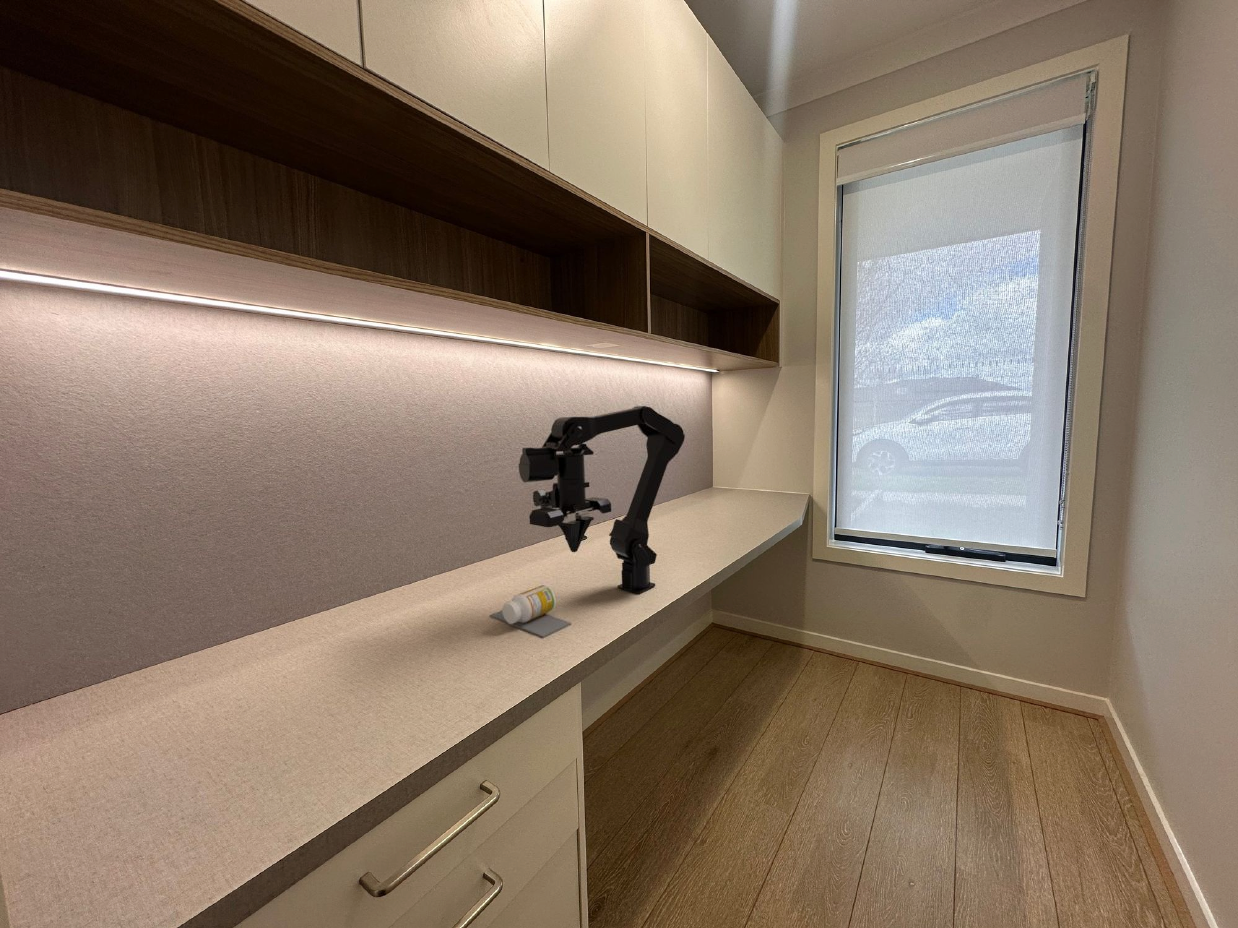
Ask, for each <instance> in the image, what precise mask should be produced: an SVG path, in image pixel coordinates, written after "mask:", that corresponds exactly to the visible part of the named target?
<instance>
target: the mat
mask: <svg viewBox="0 0 1238 928" xmlns="http://www.w3.org/2000/svg"><path fill="white" fill-rule="evenodd" d="M489 617H490V618H493V619H495V620H497V621H500V622H503V623H505V624H508V625H510V626H513V627H515V628H518V629H520V630H523V631H524V632H525V631H526V632H527V633H530V634H533V635H535V636H538V637H540V638H543V639H545V638H546V637H549V636H551V635H552V634H554V633H557V632H558V631H559V632H560V631H561V630H563V629H565V628H567V627H569V626H571V625H572V622H570V621H567V620H564V619H561V618H559V617H555V616H553V615H550V614H548V613H545V614H543V615H541V616H538V617H536V618H534V619H532V620H530V621H527V622H524V623H522V622H519V621H518V622H516V623H513V624H510V623H508V622H507V621H506V620H505V618H504V616H503V612H502V609H501V610H499V611H496V612H495V613H491V614H489Z"/></svg>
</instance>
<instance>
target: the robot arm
mask: <svg viewBox="0 0 1238 928" xmlns="http://www.w3.org/2000/svg"><path fill="white" fill-rule="evenodd" d="M634 426H637V428H638V429H639V431H640V433H641V434H642V435H643V436H645V437H646V438H647V440H646V443H645V445H646V453H647V457H646V461H645V464H644V467H643V469H642V472H641V475H640V477H639V481H638V484H637V485H636V489H635V492H634V493H633V494H634V495H633V497H632V500H631V502H630V506H629V508H628V511H627V513H626V515H624V517H623V518H622V519H619V518H616V519H615V520H614V522H613V527H612V529H611V531H610V532H609V534H608V536H609V537H610V538H609V539H610V540H609V545H610V548H611V550H612V551H613V553H615V555H616V558H617V559H619V560H622V563H621V583H620V584H618V585H617V587H616V588H617V589H621V590H624V591H627V592H630V593H635V594H641V593H644V592H646V591H648V590H650V589H652V588H653V587H655V586H656V583H654V582H651V578H650V577H651V576H650V574H651V572H650V570H651V569H650V568H651V567H650V566H651V565H653V564H655V563H656V560H657V555H658V554H657V553H656V552H655V551H654V550H653V549H652V548H651V547H650V546H649V545H648V541H649V537H650V533H649V526H648V521H649V518H650V515H651V512H652V510H653V506H654V504H655V500H656V498H657V495H658V492H659V490H660V487H661V485H662V482H663V478H664V475H665V473H666V470H667V466H668V464H669V463H670V462H671V461H672V460H673V459H674V458H675V457H676V456H677V455H678V453H679V452H680V450H681V448H682V446H683V445H684V442H685V439H686V434H685V433H684V430H683V428H682V426H681V425H680V424H678V423H674V422H673V421H672V420H671V419H669V418H668V417H665V416H663V415H662V414H661V413H658V412H657V411H655V409H653V408H652V407H651V406H649V405H637V406H633V407H632V408H628V409H627V408H626V409H622V410H619V411H614V412H608V413H603V414H599V415H593V416H563V417H558V418H556V419H555V420H554V422H553V423H552V425H551V429H550V431H551V432H550V433H549V435H548V437H547V438H546V439H545V441H544V443H543V444H542V446H541V447H523V448H522V449H521V451H522V452H521V453H522V454H520V458H519V463H518V473H519V476H520V479H521V481H522V482H523V483H533V482H542V481H552V480H554V479H555V477H556V481H557V482H554V483H552V490H549V491H547V492H546V491H545V490H544V489H539V490H538V489H537V490H534V491H533V492H532V501H533V505H534V506H535V507H540V508H536V509H533V510H531V512H530V513H529V515H528V516H529V517H528V519H529V525H532V526H539V527H542V528H553V527H556V526H558V527H559V528H560V529H561V531H562V534H563V535H564V538H565V540H566V543H567V545H568V547H569V550H570V552H571V553H577V552H578V550H579V548H580V545H581V543H582V541H583V538H584V536H585V535H586V532H587V530H588V529H589V527H590V524H591V523H592V521H595V520H594V519H595V517H593V516H590V513H589V512H594V511H599V512H600V514H607V513H610V512H612V502H611V501H610V500H609V498H602V497H597V496H596V497H594V496H593V497H586V489H587V488H589V487H590V482H589V481H586V477H585V476H586V471H585V456H591V455H594V450H592V449H591V448H590V447H589V446H588V445H587V443H586V442H589V441H591V440H593V439H594V438H596V437H597V436H599V435H601V434H605V433H609V432H613V431H618V430H622V429H625V428H631V427H634ZM575 446H577V447H575ZM557 452H559V453H557Z"/></svg>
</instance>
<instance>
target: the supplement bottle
mask: <svg viewBox="0 0 1238 928" xmlns="http://www.w3.org/2000/svg"><path fill="white" fill-rule="evenodd" d="M555 607H556V596H555V593H554V591H553V589H552V588H551V587H550V586H549V585H546V584H542V585H539V586H537V587H536V586H535V587H533V588H531V589H529V590H526V591H524V592H520V593H518V594H516V595H514V596H513V597H512V599H511V600H510V601H508V602H506V603H504V604H503V606H502V609H501V610H502V612H503V616H504V618H505V620H506V621H507V622H508V623H510V624H513V623H516V622H518V621H519V622H522V623H524V622H527V621H530V620H532V619H534V618H536V617H538V616H541V615H543V614H548V613H549V612H551V611H553V610H554V609H555ZM510 624H509V625H510Z"/></svg>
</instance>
